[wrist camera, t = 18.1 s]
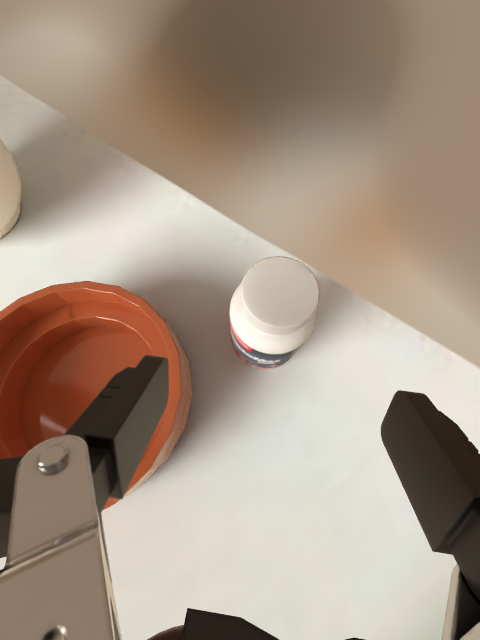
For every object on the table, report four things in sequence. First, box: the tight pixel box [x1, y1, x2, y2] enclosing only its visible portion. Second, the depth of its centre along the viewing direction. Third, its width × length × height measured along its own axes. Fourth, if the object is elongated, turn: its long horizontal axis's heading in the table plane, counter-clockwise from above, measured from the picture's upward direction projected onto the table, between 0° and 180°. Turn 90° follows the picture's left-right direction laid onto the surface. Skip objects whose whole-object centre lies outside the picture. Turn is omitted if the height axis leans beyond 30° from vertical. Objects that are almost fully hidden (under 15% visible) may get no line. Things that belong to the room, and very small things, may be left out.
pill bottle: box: [229, 256, 320, 369], centre depth 18 cm, size 5×5×9 cm
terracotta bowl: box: [0, 281, 192, 510], centre depth 18 cm, size 14×14×4 cm
